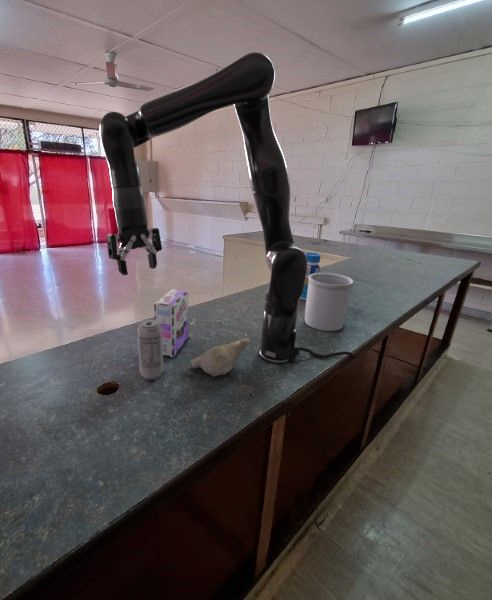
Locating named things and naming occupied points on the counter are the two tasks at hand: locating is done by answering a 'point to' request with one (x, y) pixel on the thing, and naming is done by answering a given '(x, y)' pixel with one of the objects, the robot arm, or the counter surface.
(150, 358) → the energy drink can
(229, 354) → the beige lumpy piece
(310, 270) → the beverage bottle
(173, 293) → the candy box
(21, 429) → the counter surface
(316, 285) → the utensil holder
